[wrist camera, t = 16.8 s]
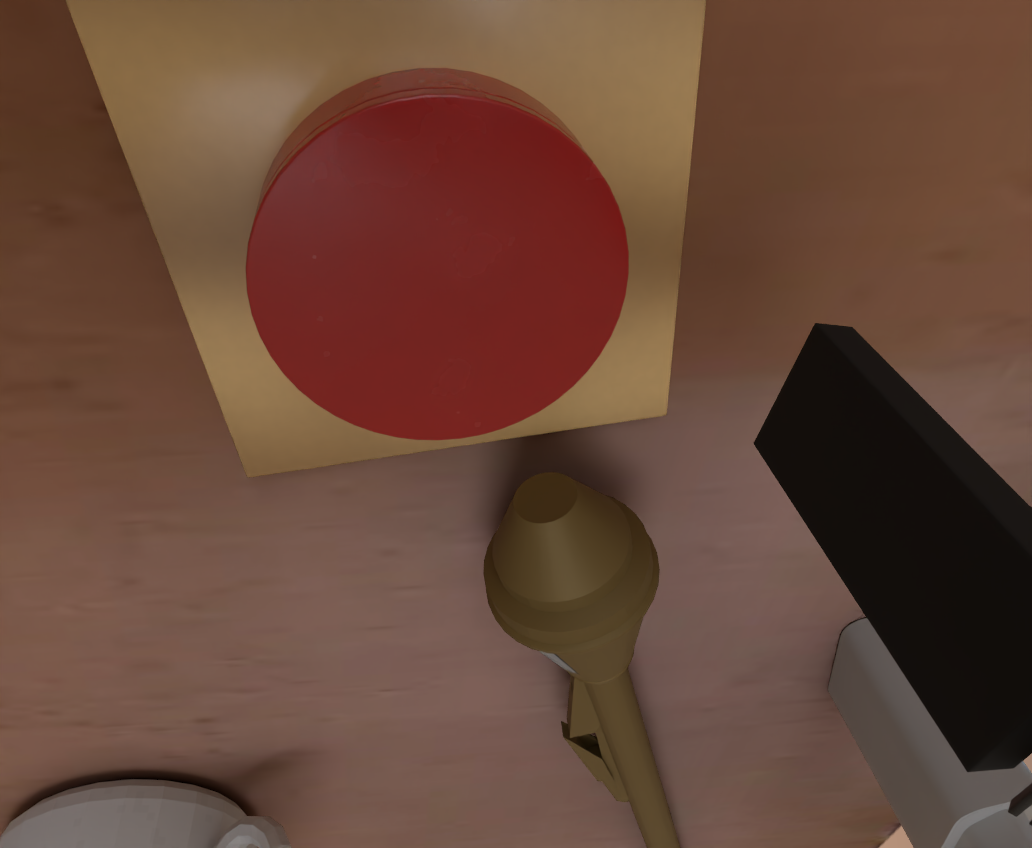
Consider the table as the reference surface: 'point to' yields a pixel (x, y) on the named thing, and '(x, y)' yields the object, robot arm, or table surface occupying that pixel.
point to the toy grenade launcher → (585, 624)
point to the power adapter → (921, 755)
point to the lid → (435, 256)
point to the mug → (141, 819)
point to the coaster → (344, 63)
